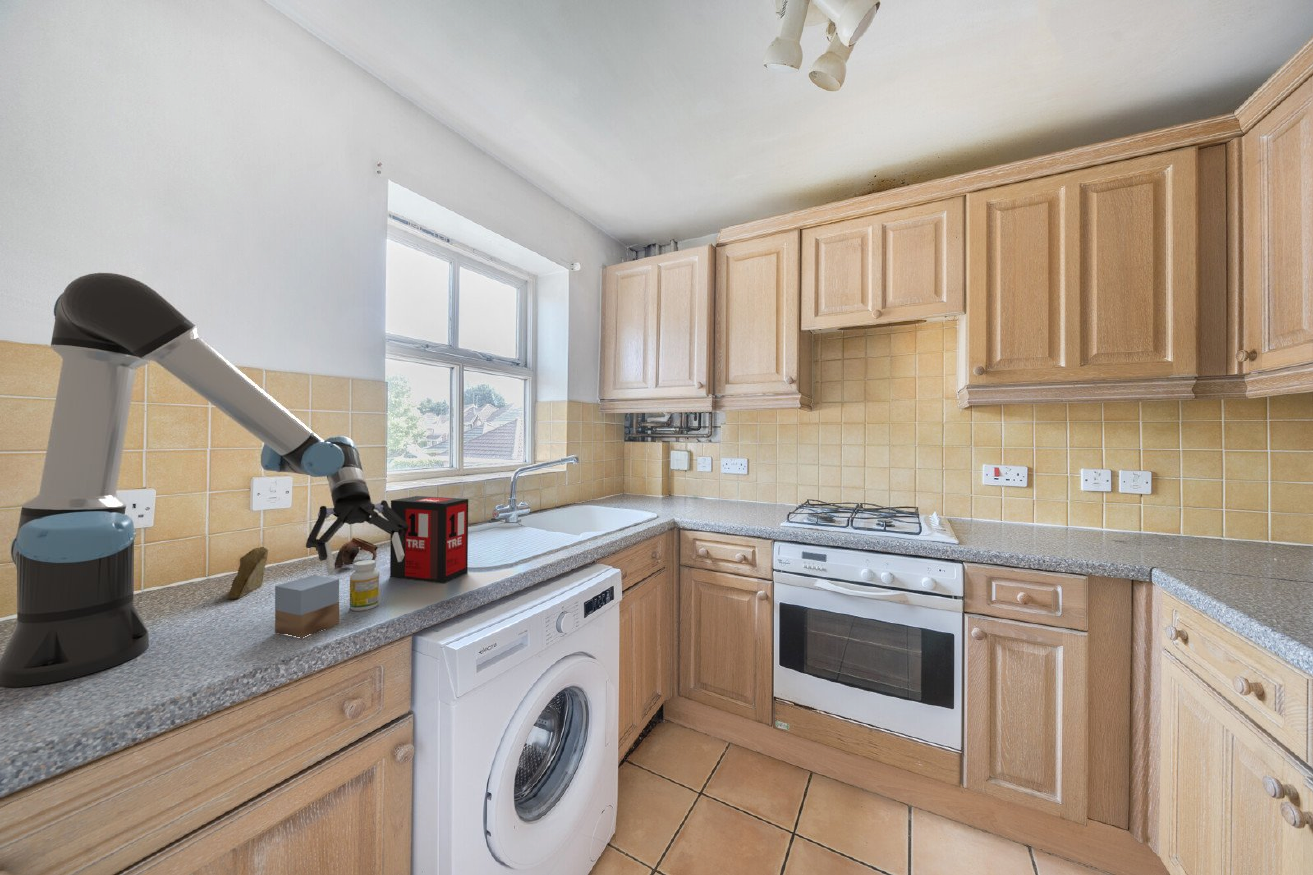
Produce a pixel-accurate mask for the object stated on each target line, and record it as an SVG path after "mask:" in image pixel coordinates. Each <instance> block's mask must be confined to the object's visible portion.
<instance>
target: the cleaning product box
mask: <svg viewBox="0 0 1313 875" xmlns="http://www.w3.org/2000/svg"><path fill="white" fill-rule="evenodd" d="M390 508H391V509H392V510H393V511H394V512H395V513H396V514H397V515H398V516H399V517H400V518H401V519H403V520H404V521H405V522H406V523H407V524H408V525H409V529H408V531H407V533H406V534H403V537H404V540H405V544H404V546H403V547H402V548H403V551H404V557H403V560H402V562H398V560H397V556H396V553H395V550H394V546H393V543H392V537H393V536H392V535H391V534H390V545H389V546H390V547H389V548H390V549H389V551H390V552H389V556H390V558H389V563H390V564H389V565H390V567H389V572H390V573H389V578H392V579H400V580H402V579H403V580H408V581H409V580H410V581H418V582H419V581H420V582H429V583H438V584H447V583H448V582H452V581H453V580H455V579H458V578H460V577H463V576H465V575H467V574H468V570H469V569H468V566H469V565H468V562H469V561H468V556H469V554H468V553H469V548H468V546H469V498H460V497H457V498H456V497H439V496H438V497H437V496H425V495H424V496H423V495H416V496H415V495H414V496H409V497H408V496H407V497H402V498H398V499H391V500H390Z"/></svg>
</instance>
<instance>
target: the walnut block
mask: <svg viewBox="0 0 1313 875" xmlns="http://www.w3.org/2000/svg"><path fill="white" fill-rule="evenodd" d="M274 621H275V622H274V634H275V633H279V634H278V635H280V634H288V635H292V636H296V637H300V638H303V637H305V636H307V635H309V634H313V635H315V634H314V633H316V634H318V633H320V632H319V631H321V630H323V631H325V630H324V629H326V630H328V629H330V627H331V628H333V627H336V626H338V625H340V601H339V602H338V603H335V604H332V605H329V606H327V607H324V608H321V609H318V610H315V611H312V612H309V613H307V614H304V615H296V614H292V613H287V612H282V611H277V610H275V609H274ZM335 625H336V626H335ZM332 626H333V627H332ZM317 632H318V633H317ZM321 632H322V631H321Z"/></svg>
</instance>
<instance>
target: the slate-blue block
mask: <svg viewBox="0 0 1313 875" xmlns="http://www.w3.org/2000/svg"><path fill="white" fill-rule="evenodd" d="M338 602H339V603H340V579H339V578H332V577H330V576H329V577H327V576H322V575H316V574H313V575H310V576H305V577H303V578H299V579H295V580H291V581H288V582H284V583H281V584H277V585H275V587H274V611H275V610H277V611H282V612H287V613H292V614H296V615H304V614H307V613H309V612H312V611H315V610H318V609H321V608H324V607H327V606H329V605H332V604H335V603H338Z"/></svg>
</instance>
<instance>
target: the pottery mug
mask: <svg viewBox="0 0 1313 875" xmlns="http://www.w3.org/2000/svg"><path fill="white" fill-rule="evenodd" d="M378 549H379V547H378V546H377V545H375V544H373V543H372V542H369V541H366V540H365V539H361V538H358V537H352V539H351V540H349V541H347V542H346V543H343V545H342V546H341V547H340V548H339V550H338V552H337V554H336V555H337V556H336V558H335V560H334V565H335V567H336V566H337V567H339V568H342V567H343V564H344V565H345V566H351V565H354V563H355V562H354V561H355V559H356V557H357V556H358V554H359V553H360V551H362V550H363V551H366V552H369V553H370V554H372V558H371V560H375V561H376V558H377V557H378V556H377V550H378Z"/></svg>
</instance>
